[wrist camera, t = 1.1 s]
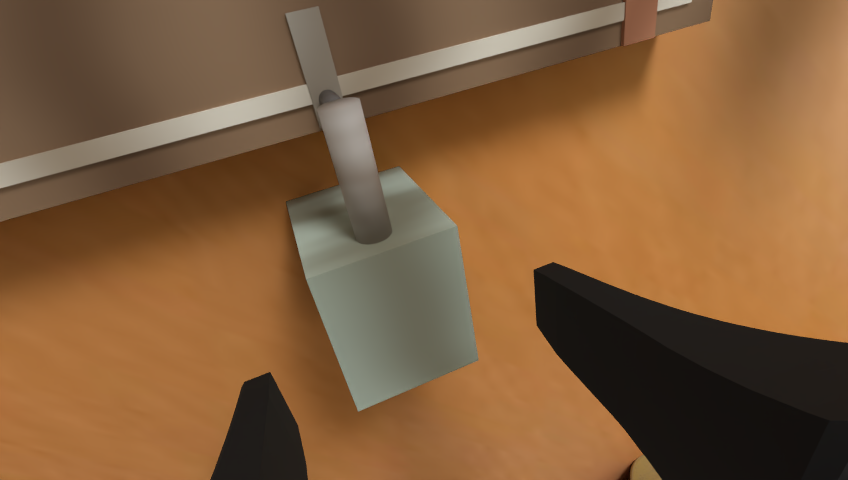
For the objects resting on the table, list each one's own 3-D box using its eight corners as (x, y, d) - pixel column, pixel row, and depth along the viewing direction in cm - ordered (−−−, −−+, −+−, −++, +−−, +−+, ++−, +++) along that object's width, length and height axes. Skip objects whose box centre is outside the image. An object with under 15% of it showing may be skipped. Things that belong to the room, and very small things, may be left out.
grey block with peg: (328, 313, 18) (358, 411, 13) (244, 93, 13) (250, 138, 9) (423, 278, 18) (478, 360, 14) (375, 59, 14) (435, 86, 10)
